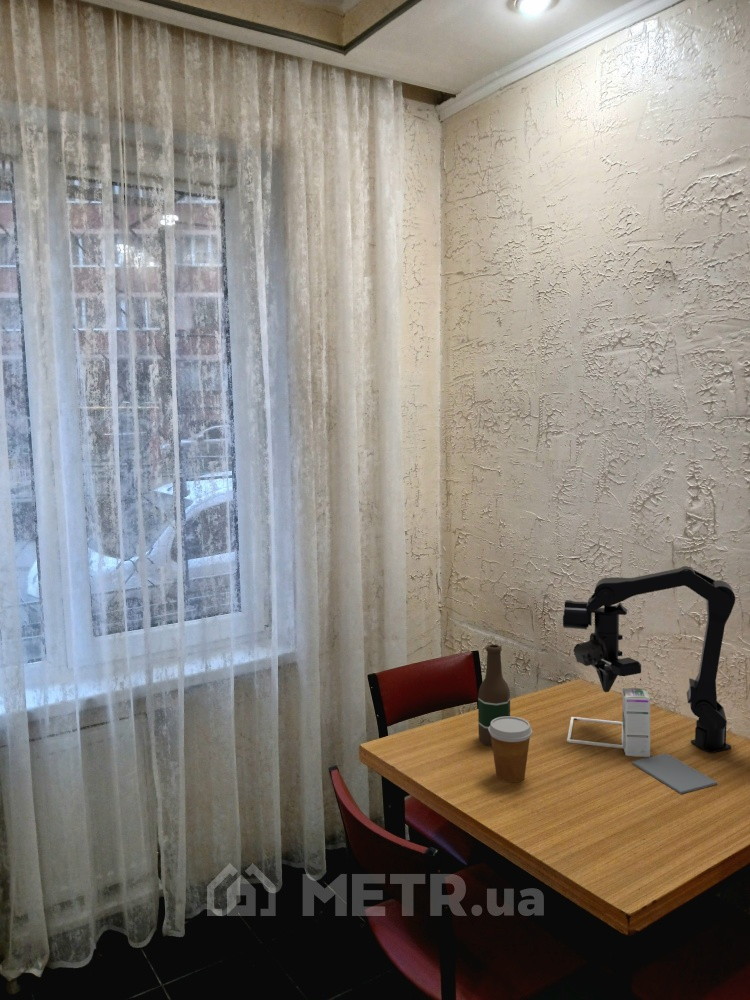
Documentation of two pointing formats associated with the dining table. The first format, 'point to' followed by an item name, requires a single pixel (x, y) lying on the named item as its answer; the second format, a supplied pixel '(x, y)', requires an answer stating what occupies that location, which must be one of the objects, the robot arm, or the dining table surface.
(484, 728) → the beer bottle
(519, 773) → the disposable coffee cup
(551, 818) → the dining table surface
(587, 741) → the photo frame
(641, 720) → the syrup box
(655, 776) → the mat
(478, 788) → the dining table surface
